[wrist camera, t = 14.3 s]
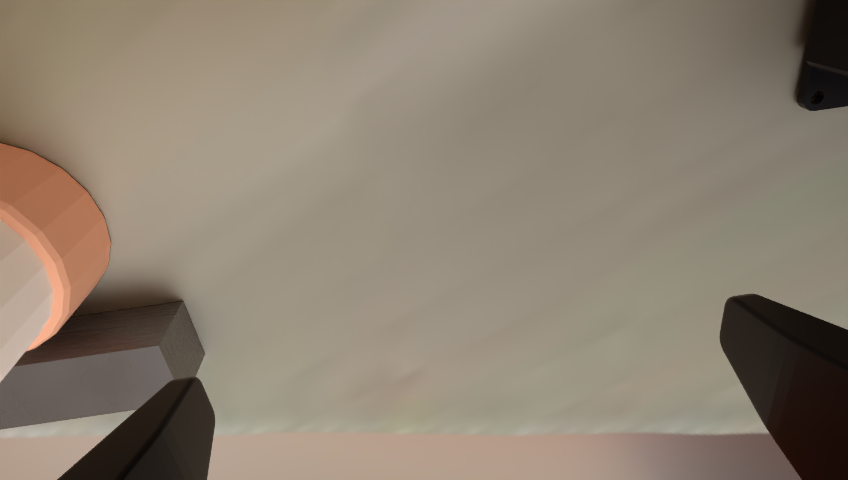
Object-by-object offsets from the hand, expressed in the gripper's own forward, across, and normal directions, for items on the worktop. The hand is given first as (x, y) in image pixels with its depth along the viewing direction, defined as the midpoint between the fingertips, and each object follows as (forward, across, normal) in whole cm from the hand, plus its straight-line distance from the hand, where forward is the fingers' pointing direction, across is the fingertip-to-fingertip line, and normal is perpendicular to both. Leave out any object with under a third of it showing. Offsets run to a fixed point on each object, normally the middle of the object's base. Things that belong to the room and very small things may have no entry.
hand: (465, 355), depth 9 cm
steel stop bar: (+13, +17, +8) cm, 23 cm away
